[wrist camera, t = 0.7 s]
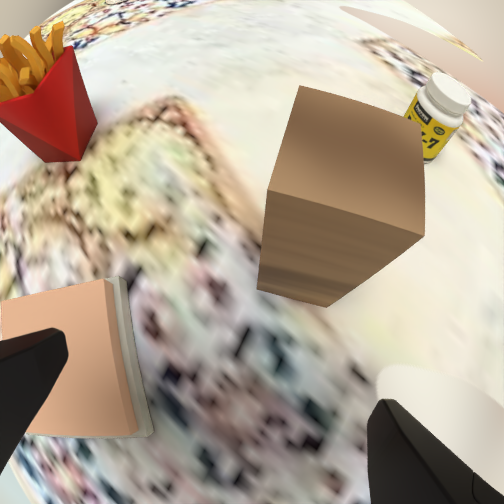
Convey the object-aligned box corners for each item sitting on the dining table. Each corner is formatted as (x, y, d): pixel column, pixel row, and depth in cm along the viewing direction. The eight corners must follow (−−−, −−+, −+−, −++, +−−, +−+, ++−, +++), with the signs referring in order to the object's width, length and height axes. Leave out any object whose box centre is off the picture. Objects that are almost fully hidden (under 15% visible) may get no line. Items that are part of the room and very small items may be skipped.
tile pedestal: (154, 431, 17) (140, 442, 15) (37, 431, 16) (15, 436, 14) (126, 281, 21) (109, 269, 18) (19, 303, 20) (-3, 295, 17)
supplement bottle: (385, 140, 26) (419, 77, 18) (405, 120, 27) (436, 62, 19) (424, 173, 25) (468, 116, 17) (440, 150, 26) (479, 96, 18)
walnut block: (326, 307, 21) (424, 236, 8) (256, 289, 21) (267, 189, 9) (339, 242, 22) (420, 124, 10) (274, 224, 23) (299, 85, 10)
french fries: (60, 121, 27) (3, 22, 13) (121, 114, 27) (71, -8, 12) (28, 188, 24) (-59, 92, 10) (90, 188, 24) (-1, 61, 9)
